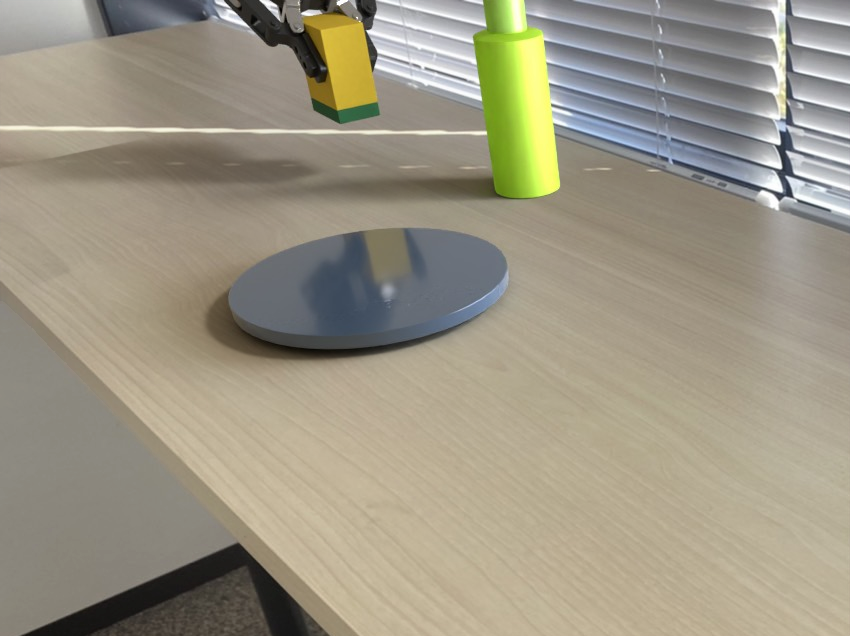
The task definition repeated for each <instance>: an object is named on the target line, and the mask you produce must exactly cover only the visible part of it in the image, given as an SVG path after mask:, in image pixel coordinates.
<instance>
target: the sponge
mask: <svg viewBox="0 0 850 636" xmlns="http://www.w3.org/2000/svg"><path fill="white" fill-rule="evenodd" d="M302 19H303V24H304V32H305V33H309V35H310V36H311V38H312V40H313V42H314V44H315V46H316V48H317V49H318V51H319V53H320V55H321V57H322V59H323V60H324V62H325V64H326V66H327V70H328V73H327V77H326V81H325V82H323V83H317V82H316V81H315V79H314V78H310V77H309V76H308V75H306V73H305V72H304V75H305V78H306V82H307V87H308V92H309V96H310V101H311V105H312V109H313V111H314V112H316V113H318V114H320V115H321V116H324V117H325V118H327V119H329V120H331V121H333V122H335V123H337V124H339V125H343V124H347V123H351V122H352V123H353V122H356V121H361V120H365V119H370V118H374V117H378V116H381V112H380V106H379V101H378V96H377V95H378V94H377V90H376V85H375V80H374V74H373V73H372V69H371V64H370V58H369V53H368V48H367V43H366V37H365V32H364V27H363V23H362V22H360V21H357V20H355V19H352V18H349V17H347V16H344V15H342V14H339V13H337V12H335V13H333V12H330V13H324V14H322V13H319V14H313V15H307V16H302Z"/></svg>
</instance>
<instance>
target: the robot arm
mask: <svg viewBox="0 0 850 636" xmlns="http://www.w3.org/2000/svg"><path fill="white" fill-rule="evenodd" d="M223 1H224V2H225V4H226V5H227V6H228V7H229V8H230V9H231V10H232V11H233V12H234V13H235V14H236V15H237V16H238V17H239V18H240V19H241V20H242V22H244V23H245V25H246V26H248V27H249V29H251V30H252V31H253V32H254V33H255V35H257V37H259V39H260V40H262V42H263V43H265V45H267V46H268V47H269V48H270V47H271V48H275V47H278V45H283V46H287V47H288V48H290V49H291V50H292V52H293V53H294V55H295V58H296V59H297V60H298V62H299V64H300V67H301V68H302V70H303V71H304V74H305V73H306V74H305V76H306V75H308V76H309V77H310V78H314V79H315V81H316V82H317V83H323V82H325V81H326V77H327V73H328V70H327V66H326V64H325V62H324V60H323V59H322V57H321V55H320V53H319V51H318V49H317V48H316V46H315V44H314V42H313V40H312V38H311V36H310V35H309V33H305V32H304V24H303V19H302V17H303V15H302V13H304V12H306V11H308V10H309V11H319V12H320V14H324V13H330V12H333V13H335V12H337V13H339V14H342V15H344V16H347V17H349V18H352V19H355V20H357V21H360V22H362V23H363V27H364V32H365V37H366V43H367V48H368V53H369V58H370V64H371V69H372V74H373V73H374V71H375V67H376V64H377V59H378V57H379V56H378V55H379V53H378V50H377V47H376V46H375V44H374V42H373V41H372V39H371V36H370V35H369V33H368V31H370V30H372V29H373V27H374V21H375V17H376V14H377V11H378V6H377V1H376V0H354V2H355V6H354V4H353V3H352V2H351V1H350V0H269V1H270V2H272V3H273V4H274V5H276V8H277V12H278V13H277V14H278V17H279V18H278V17H277V16H276V15H275V14H274V13H273V12H272V11H271V10H270V9H269V8H268V7H267V6H266V5H265V4H264V3H263V2H262V1H261V0H223Z"/></svg>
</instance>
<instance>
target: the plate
mask: <svg viewBox="0 0 850 636" xmlns="http://www.w3.org/2000/svg"><path fill="white" fill-rule="evenodd" d="M509 283H510V271H509V263H508V261H507V257H506V256H505V254H504V253H503V251H502V250H500V249H499V247H497V246H496V245H494V244H493V243H491V242H489V241H488V240H487V239H486V240H485V239H483V238H481V237H478V236H476V235H472V234H468V233H465V232H460V231H455V230H449V229H441V228H430V227H429V228H428V227H388V228H375V229H367V230H359V231H358V230H357V231H352V232H351V231H350V232H345V233H340V234H336V235H331V236H326V237H323V238H318V239H313V240H311V241H307V242H304V243H301V244H297V245H294V246H292V247H289V248H286V249H283V250H280V251H279V252H276V253H274V254H272V255H270V256H268V257H265V258H264V259H262V260H260V261H258V262H256V263H255V264H254V265H252V266H250V267H249V268H248V269H246V270H245V271H244V272H242V273H241V274H240V276H238V277H237V278H236V280H235V281H234V282H233V283H232V285H231V287H230V289H229V290H228V296H227V300H228V306H229V309H230V311H231V315H232V318H233V320H234V322H235V323H236V325H237V326H238V327H240V329H241V330H243V331H244V332H246V334H249V335H250V336H252V337H255V338H257V339H260V340H262V341H265V342H269V343H272V344H276V345H280V346H287V347H291V348H299V349H300V348H302V349H312V350H313V349H314V350H349V349H362V348H369V347H370V348H371V347H378V346H387V345H390V344H391V345H392V344H398V343H401V342H406V341H412V340H415V339H420V338H424V337H427V336H430V335H434V334H437V333H440V332H442V331H443V332H444V331H445V330H449V329H450V328H451V329H452V328H453V327H456V326H458V325H460V324H462V323H464V322H465V323H466V322H467V321H469V320H471V319H473V318H475V317H476V316H478V315H480V314H481V313H483V312H485V311H487V310H488V309H489V308H490V307H492V306H493V305H494V304H495V303H496V302H497V301H499V299H500V298H502V296H503V295H504V293H505V292H506V291H507V288H508V285H509Z"/></svg>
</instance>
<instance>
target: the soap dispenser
mask: <svg viewBox="0 0 850 636" xmlns="http://www.w3.org/2000/svg"><path fill="white" fill-rule="evenodd" d="M482 3H483V4H482V5H483V12H484V19H485V26H486V28H485V29H482V30H480V31H478V32H475V33H474V34H473V35H472V42H473V48H474V55H475V62H476V69H477V74H478V83H479V89H480V90H479V91H480V95H481V102H482V109H483V117H484V123H485V130H486V137H487V144H488V149H489V151H488V152H489V157H490V164H491V165H490V166H491V171H492V177H493V184H494V185H493V186H494V191H495V192H496V194H498V196H501V197H505V198H509V199H535V198H540V197H544V196H549V195H551V194H553V193H555V192H556V191H558V190H559V189H560V188H561V180H560V171H559V165H558V164H559V163H558V154H557V145H556V144H557V143H556V136H555V128H554V127H555V126H554V118H553V109H552V101H551V93H550V92H551V91H550V83H549V73H548V65H547V57H546V49H545V39H544V32H543V30H542V29H540V28H537V27H533V26H528V23H527V21H528V20H527V14H526V6H525V0H482Z"/></svg>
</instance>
